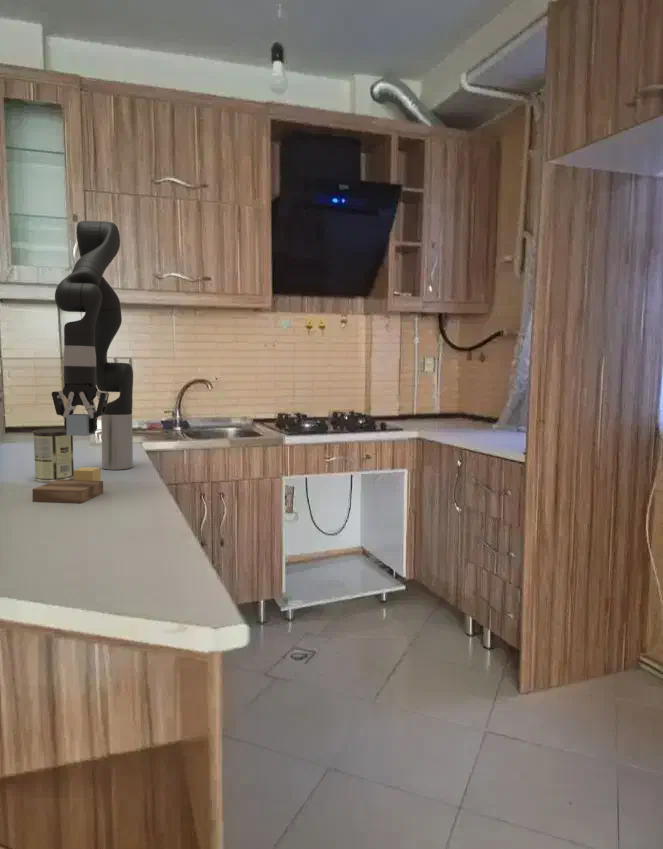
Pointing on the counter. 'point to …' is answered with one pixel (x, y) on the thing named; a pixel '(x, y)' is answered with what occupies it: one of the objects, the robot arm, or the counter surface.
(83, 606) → the counter surface
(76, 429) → the slate block
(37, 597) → the counter surface
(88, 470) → the ochre block
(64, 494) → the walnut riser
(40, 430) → the coffee can
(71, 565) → the counter surface
